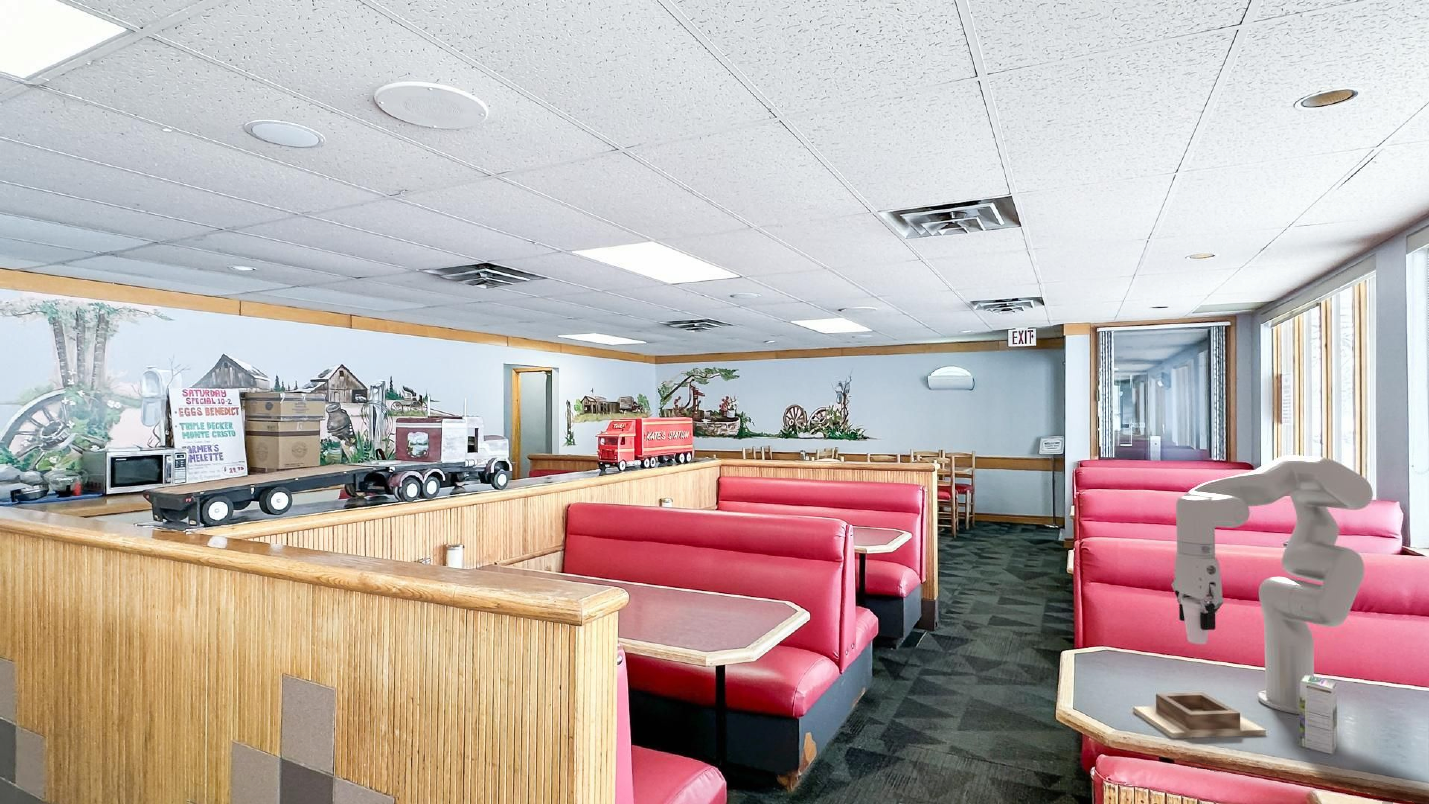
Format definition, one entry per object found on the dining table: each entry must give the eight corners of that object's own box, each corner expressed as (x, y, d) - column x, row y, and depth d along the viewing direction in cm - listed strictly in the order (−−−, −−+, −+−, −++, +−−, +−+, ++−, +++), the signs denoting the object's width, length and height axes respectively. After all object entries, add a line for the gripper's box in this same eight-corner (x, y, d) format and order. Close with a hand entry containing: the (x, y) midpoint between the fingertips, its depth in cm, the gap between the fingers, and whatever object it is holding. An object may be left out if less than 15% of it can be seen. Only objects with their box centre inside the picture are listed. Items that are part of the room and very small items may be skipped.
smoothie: (1219, 647, 165) (1218, 586, 165) (1188, 645, 166) (1187, 585, 166) (1205, 637, 171) (1204, 579, 171) (1176, 636, 172) (1175, 578, 172)
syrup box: (1303, 738, 160) (1302, 673, 160) (1338, 747, 156) (1337, 680, 156) (1299, 746, 157) (1298, 680, 157) (1334, 755, 152) (1333, 688, 152)
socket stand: (1219, 709, 176) (1219, 690, 176) (1265, 735, 162) (1265, 714, 162) (1133, 711, 175) (1132, 692, 175) (1172, 738, 161) (1172, 717, 161)
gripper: (1239, 556, 160) (1241, 636, 160) (1184, 541, 177) (1186, 613, 177) (1207, 557, 160) (1209, 637, 160) (1155, 542, 177) (1157, 614, 177)
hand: (1197, 624), depth 168 cm, fingers closed on smoothie, 6 cm apart
